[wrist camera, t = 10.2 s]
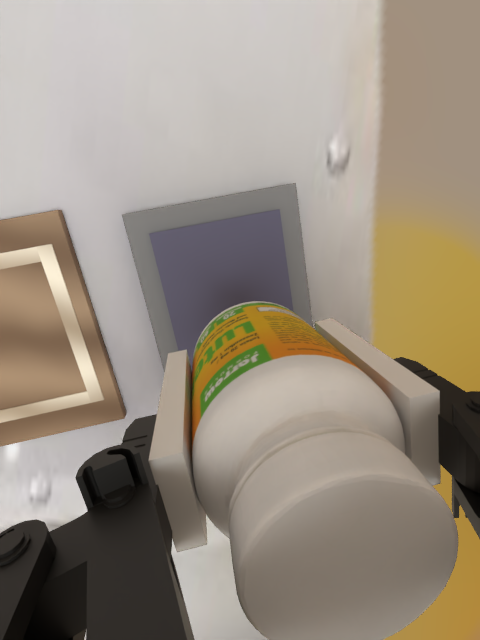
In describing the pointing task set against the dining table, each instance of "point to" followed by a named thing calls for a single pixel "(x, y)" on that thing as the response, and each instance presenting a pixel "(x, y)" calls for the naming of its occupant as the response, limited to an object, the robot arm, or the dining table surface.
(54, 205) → the dining table surface
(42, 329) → the marking board
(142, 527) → the robot arm
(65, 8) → the dining table surface
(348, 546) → the supplement bottle
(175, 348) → the ink pad
